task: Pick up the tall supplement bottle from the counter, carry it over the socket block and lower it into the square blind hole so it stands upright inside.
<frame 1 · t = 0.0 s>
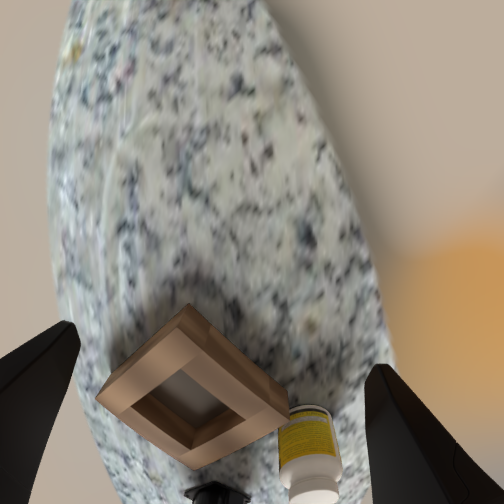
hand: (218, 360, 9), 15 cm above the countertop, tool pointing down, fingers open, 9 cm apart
socket block: (194, 386, 27), on the countertop
supplement bottle: (304, 420, 28), on the countertop
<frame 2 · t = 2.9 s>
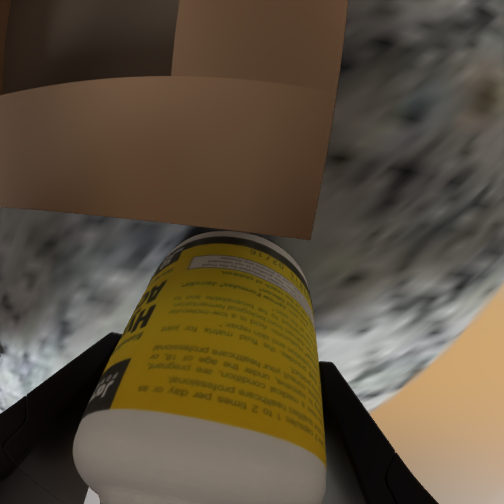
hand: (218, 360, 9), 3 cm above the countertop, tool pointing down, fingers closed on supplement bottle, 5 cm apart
supplement bottle: (231, 292, 11), on the countertop, touching gripper
when the fingers open (5 cm above the countertop, at t = 7.0 s): supplement bottle drops 1 cm, resting on socket block.
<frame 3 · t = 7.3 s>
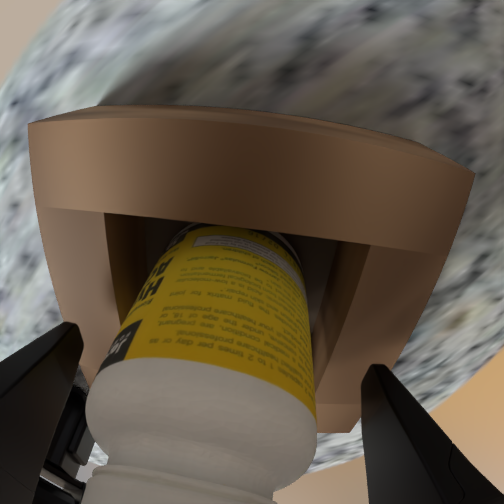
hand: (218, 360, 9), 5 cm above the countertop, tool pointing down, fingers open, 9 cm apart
socket block: (237, 262, 13), on the countertop
supplement bottle: (231, 274, 12), point 1 cm above the countertop, touching socket block
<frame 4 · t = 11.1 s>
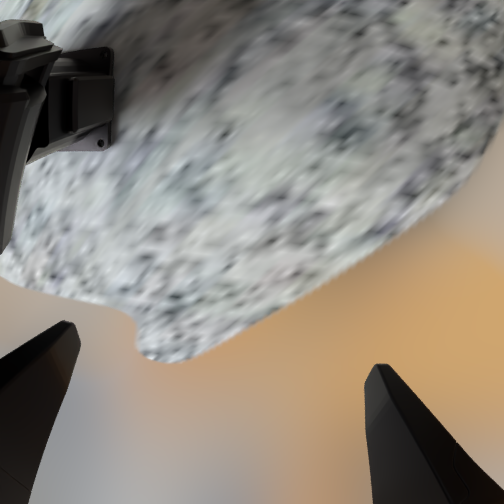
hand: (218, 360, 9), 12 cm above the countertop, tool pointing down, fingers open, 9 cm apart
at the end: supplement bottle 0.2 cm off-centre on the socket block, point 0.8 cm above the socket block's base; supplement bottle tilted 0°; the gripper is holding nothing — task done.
